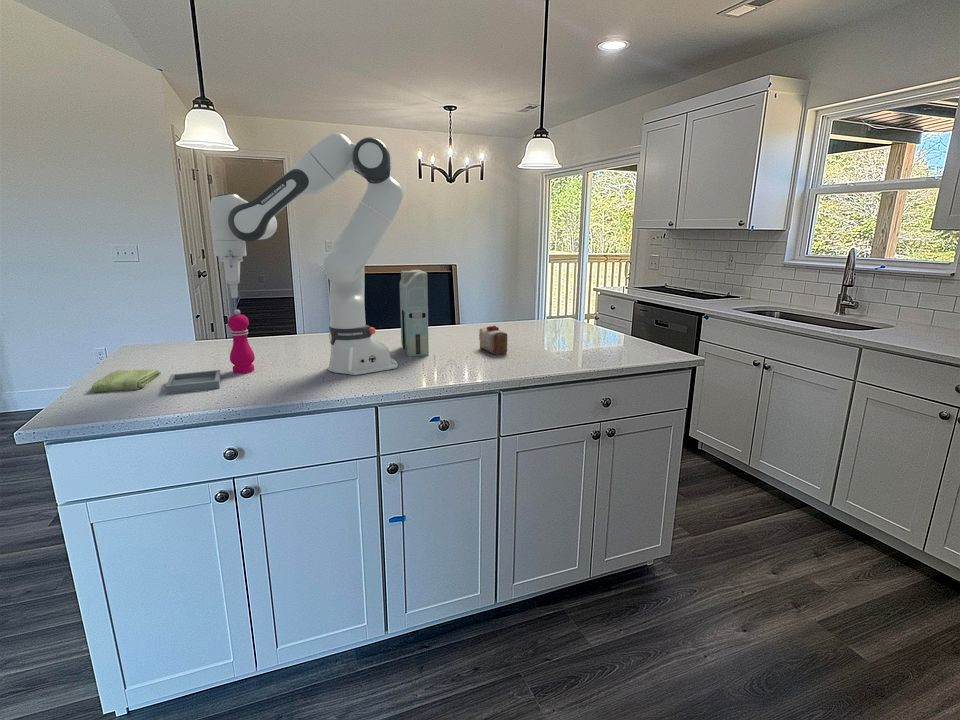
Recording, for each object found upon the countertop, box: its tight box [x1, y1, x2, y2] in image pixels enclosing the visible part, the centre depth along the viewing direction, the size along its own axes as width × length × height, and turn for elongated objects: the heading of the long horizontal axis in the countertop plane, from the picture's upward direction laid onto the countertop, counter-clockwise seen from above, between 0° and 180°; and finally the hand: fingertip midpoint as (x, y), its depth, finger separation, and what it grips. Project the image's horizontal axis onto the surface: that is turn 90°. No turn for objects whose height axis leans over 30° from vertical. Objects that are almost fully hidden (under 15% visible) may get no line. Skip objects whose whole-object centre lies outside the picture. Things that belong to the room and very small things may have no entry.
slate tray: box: [165, 369, 222, 395], centre depth 144 cm, size 13×13×2 cm
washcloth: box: [91, 368, 162, 393], centre depth 146 cm, size 13×18×3 cm
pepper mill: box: [227, 309, 256, 374], centre depth 157 cm, size 7×7×20 cm
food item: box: [478, 325, 508, 356], centre depth 189 cm, size 14×8×10 cm, turn 25°
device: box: [399, 269, 430, 357], centre depth 184 cm, size 16×8×30 cm, turn 17°
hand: (234, 295), depth 153 cm, fingers open, 8 cm apart
